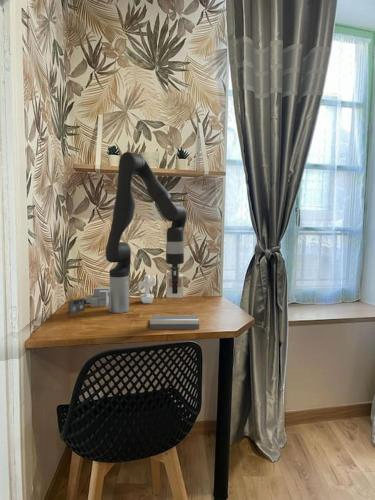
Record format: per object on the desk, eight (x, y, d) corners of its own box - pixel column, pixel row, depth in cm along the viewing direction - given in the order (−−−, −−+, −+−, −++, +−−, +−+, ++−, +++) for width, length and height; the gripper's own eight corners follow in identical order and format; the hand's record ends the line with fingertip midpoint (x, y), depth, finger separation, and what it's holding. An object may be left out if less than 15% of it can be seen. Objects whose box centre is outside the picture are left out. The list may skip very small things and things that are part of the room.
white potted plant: (138, 300, 172) (138, 274, 171) (155, 300, 173) (155, 273, 172) (138, 304, 165) (138, 276, 164) (156, 303, 166) (156, 275, 165)
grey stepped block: (87, 301, 170) (87, 287, 169) (109, 301, 171) (109, 287, 171) (82, 307, 158) (82, 292, 157) (106, 306, 159) (106, 291, 159)
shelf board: (150, 328, 126) (150, 320, 125) (152, 319, 137) (152, 311, 137) (199, 328, 126) (199, 320, 126) (197, 319, 138) (197, 311, 138)
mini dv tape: (82, 310, 153) (82, 298, 152) (84, 310, 152) (84, 298, 151) (68, 313, 146) (68, 301, 145) (70, 314, 145) (70, 301, 145)
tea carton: (183, 297, 130) (183, 276, 129) (166, 297, 129) (166, 276, 129) (182, 295, 134) (183, 274, 134) (166, 295, 134) (166, 274, 133)
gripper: (184, 253, 124) (184, 295, 125) (183, 250, 138) (183, 288, 139) (165, 253, 123) (165, 295, 125) (166, 250, 137) (166, 288, 139)
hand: (174, 291), depth 132 cm, fingers closed on tea carton, 4 cm apart
